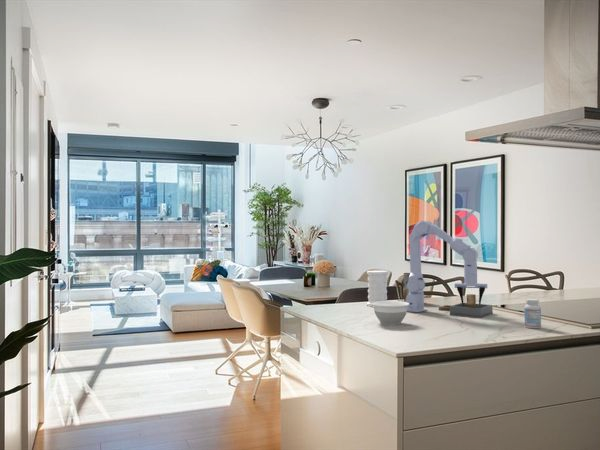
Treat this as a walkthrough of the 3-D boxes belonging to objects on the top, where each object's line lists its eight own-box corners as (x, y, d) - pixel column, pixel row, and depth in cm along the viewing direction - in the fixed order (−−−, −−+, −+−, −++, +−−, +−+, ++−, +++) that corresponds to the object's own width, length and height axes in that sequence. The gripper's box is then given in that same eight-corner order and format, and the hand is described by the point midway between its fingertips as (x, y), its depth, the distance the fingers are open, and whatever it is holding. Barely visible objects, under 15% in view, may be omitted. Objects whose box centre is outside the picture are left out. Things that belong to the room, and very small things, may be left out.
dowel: (474, 312, 253) (473, 295, 253) (465, 312, 256) (465, 294, 256) (477, 311, 256) (476, 294, 256) (468, 311, 259) (468, 294, 259)
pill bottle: (527, 325, 225) (526, 298, 225) (543, 327, 221) (542, 299, 221) (522, 327, 220) (522, 299, 220) (538, 329, 216) (538, 300, 216)
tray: (480, 317, 246) (480, 308, 246) (449, 314, 255) (449, 306, 255) (492, 313, 257) (492, 304, 257) (462, 310, 266) (462, 302, 266)
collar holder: (454, 311, 265) (454, 308, 265) (438, 309, 270) (438, 306, 270) (461, 309, 271) (461, 306, 271) (445, 308, 276) (445, 305, 277)
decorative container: (381, 303, 296) (381, 270, 297) (393, 306, 286) (392, 271, 286) (362, 304, 292) (362, 271, 292) (373, 307, 281) (373, 272, 281)
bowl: (365, 322, 239) (365, 302, 239) (397, 319, 244) (397, 300, 244) (383, 327, 224) (383, 306, 224) (417, 325, 229) (416, 304, 229)
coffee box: (422, 302, 300) (421, 272, 300) (421, 303, 294) (420, 273, 294) (404, 301, 302) (404, 272, 303) (403, 303, 296) (403, 273, 296)
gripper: (486, 273, 258) (487, 302, 258) (454, 273, 262) (455, 302, 262) (487, 275, 251) (487, 304, 251) (454, 274, 255) (454, 304, 255)
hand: (471, 303), depth 256 cm, fingers open, 7 cm apart
